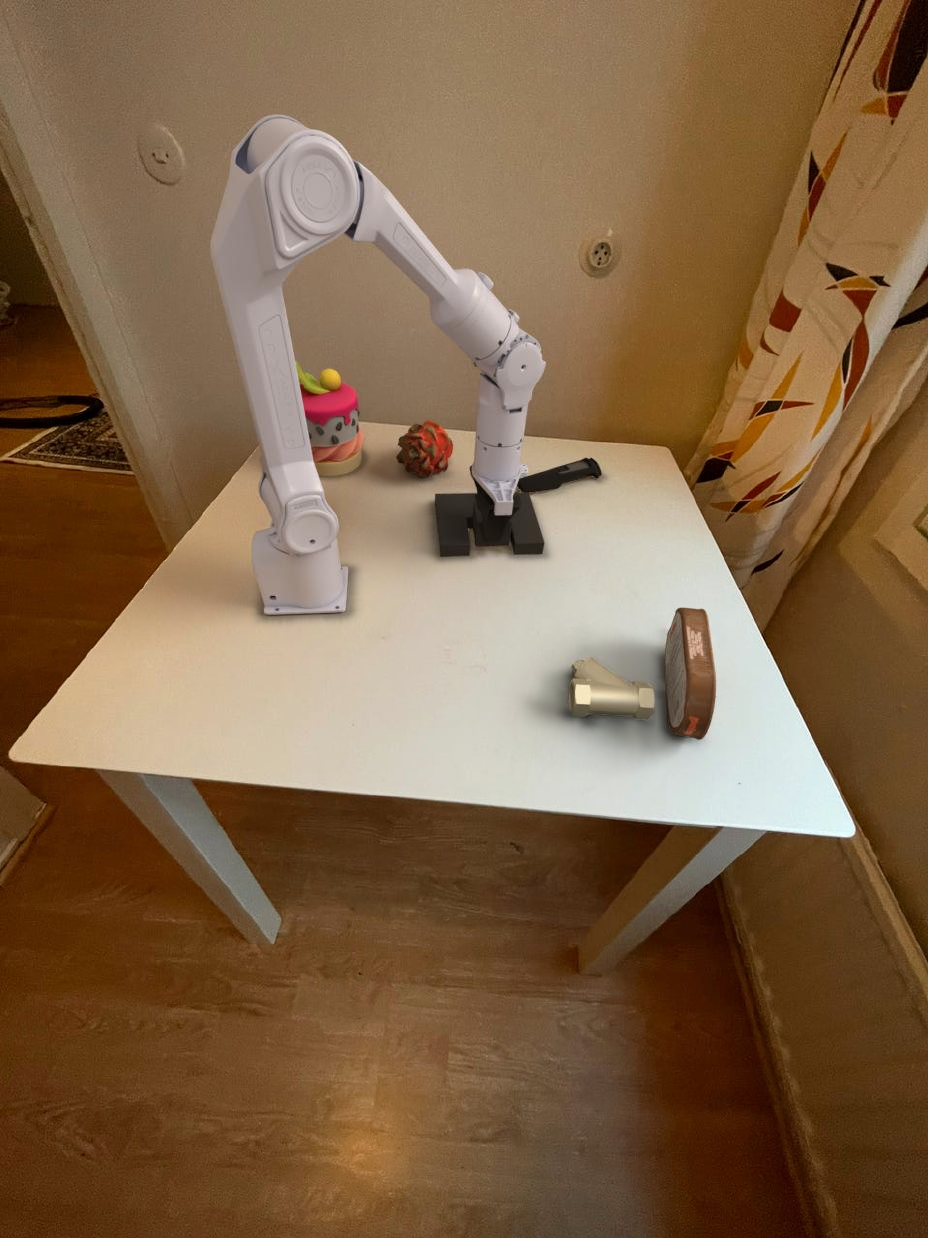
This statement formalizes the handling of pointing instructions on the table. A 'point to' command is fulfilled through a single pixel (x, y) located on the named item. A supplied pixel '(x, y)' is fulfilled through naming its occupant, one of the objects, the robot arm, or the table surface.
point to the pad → (479, 534)
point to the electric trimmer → (560, 476)
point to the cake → (331, 422)
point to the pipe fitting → (607, 693)
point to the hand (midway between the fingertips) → (490, 528)
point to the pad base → (457, 519)
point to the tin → (690, 674)
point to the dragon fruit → (425, 449)
